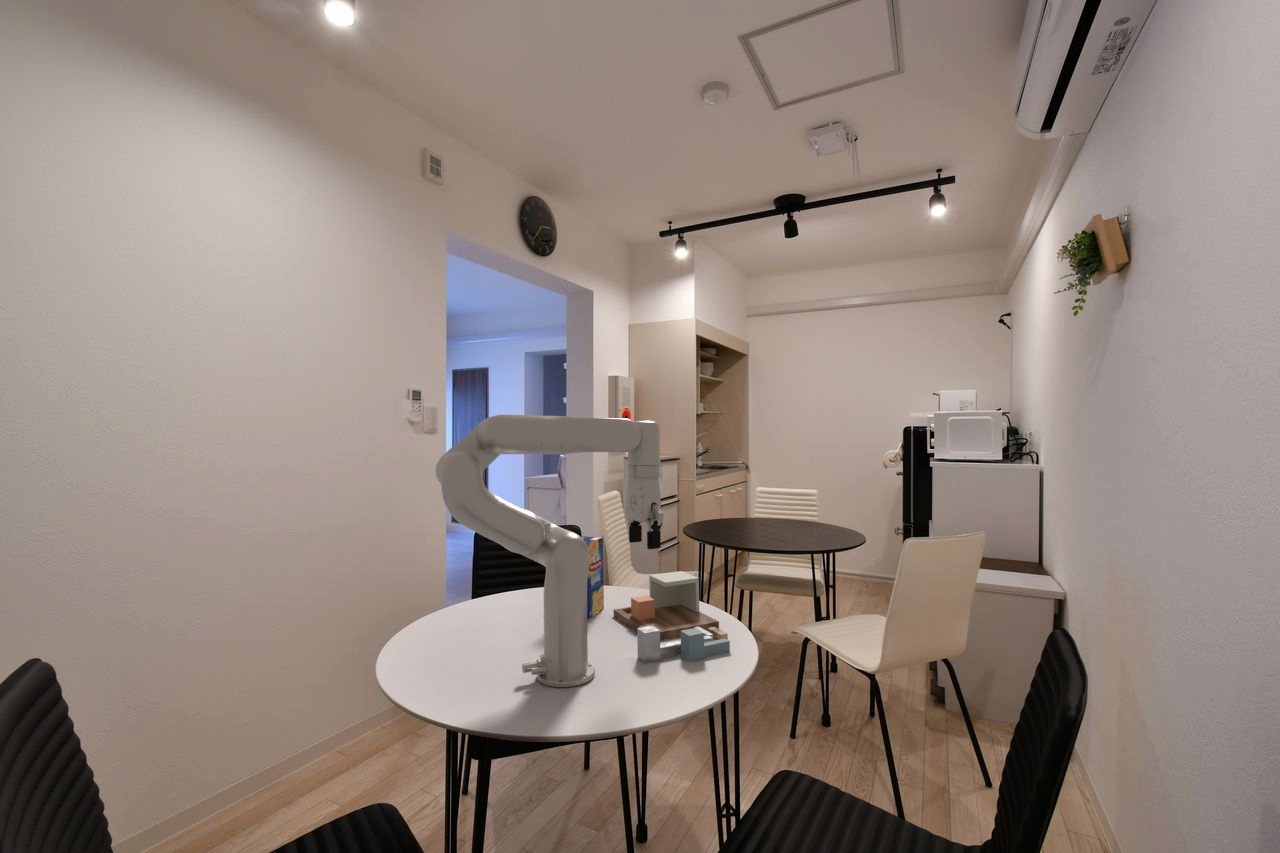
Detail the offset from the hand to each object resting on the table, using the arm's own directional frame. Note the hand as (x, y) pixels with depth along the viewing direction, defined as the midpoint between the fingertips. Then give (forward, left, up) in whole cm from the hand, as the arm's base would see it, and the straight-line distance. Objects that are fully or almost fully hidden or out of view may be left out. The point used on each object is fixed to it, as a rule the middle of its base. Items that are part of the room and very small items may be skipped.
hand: (644, 545), depth 132 cm
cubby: (+22, +25, -25) cm, 41 cm away
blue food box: (0, +41, -27) cm, 49 cm away
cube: (+11, +24, -25) cm, 36 cm away
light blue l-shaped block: (+14, -4, -27) cm, 31 cm away
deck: (+17, +22, -27) cm, 39 cm away
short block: (+22, +3, -27) cm, 35 cm away
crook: (+9, +3, -27) cm, 28 cm away
